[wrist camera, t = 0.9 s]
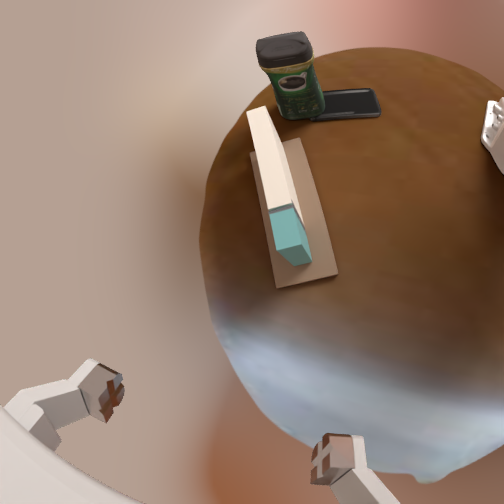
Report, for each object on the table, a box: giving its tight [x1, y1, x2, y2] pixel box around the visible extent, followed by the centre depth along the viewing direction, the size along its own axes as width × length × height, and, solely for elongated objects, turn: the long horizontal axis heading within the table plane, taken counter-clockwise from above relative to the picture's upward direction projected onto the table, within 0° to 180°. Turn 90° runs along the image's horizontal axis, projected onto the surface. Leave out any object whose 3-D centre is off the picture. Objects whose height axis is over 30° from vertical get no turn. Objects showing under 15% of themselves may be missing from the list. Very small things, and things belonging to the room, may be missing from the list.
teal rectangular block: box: [268, 205, 312, 266], centre depth 37 cm, size 5×3×12 cm, turn 10°
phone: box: [309, 88, 381, 121], centre depth 47 cm, size 8×1×15 cm
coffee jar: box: [256, 32, 325, 120], centre depth 41 cm, size 10×8×19 cm
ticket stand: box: [247, 106, 338, 288], centre depth 40 cm, size 26×10×13 cm, turn 10°
